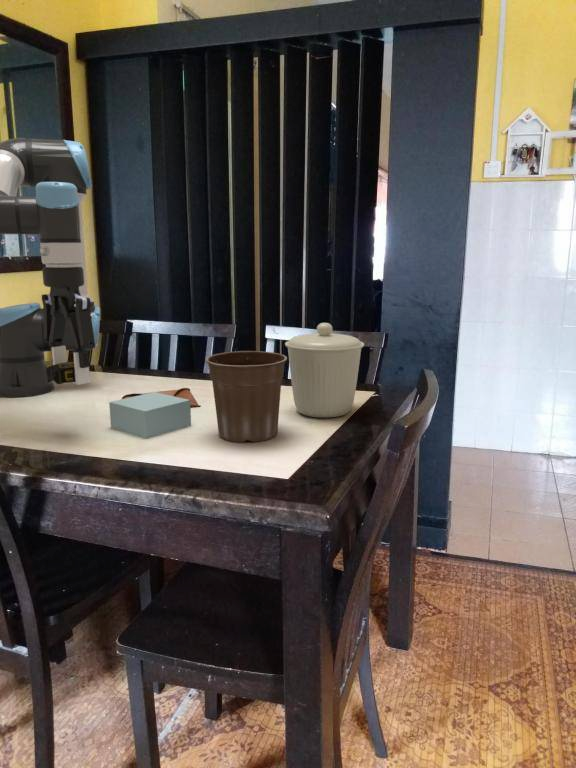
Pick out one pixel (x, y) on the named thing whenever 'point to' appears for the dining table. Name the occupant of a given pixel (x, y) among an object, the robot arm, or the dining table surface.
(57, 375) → the tape measure
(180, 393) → the sunglasses case
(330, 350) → the canister
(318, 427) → the dining table surface
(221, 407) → the plant pot
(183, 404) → the painted block
